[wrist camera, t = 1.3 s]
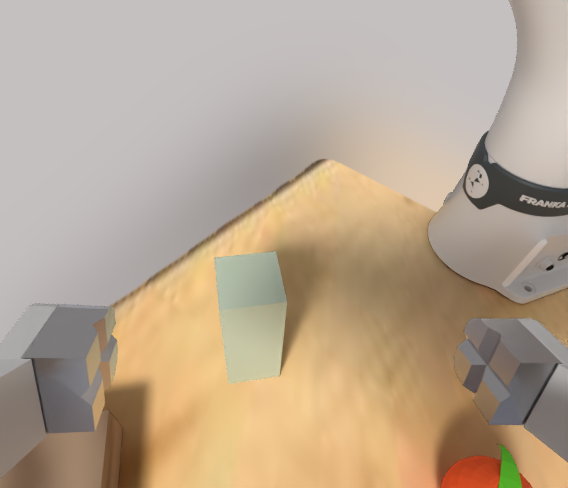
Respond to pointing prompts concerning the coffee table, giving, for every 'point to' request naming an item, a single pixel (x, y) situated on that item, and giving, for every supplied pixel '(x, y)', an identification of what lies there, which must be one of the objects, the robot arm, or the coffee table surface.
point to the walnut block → (72, 459)
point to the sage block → (251, 315)
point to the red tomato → (485, 473)
